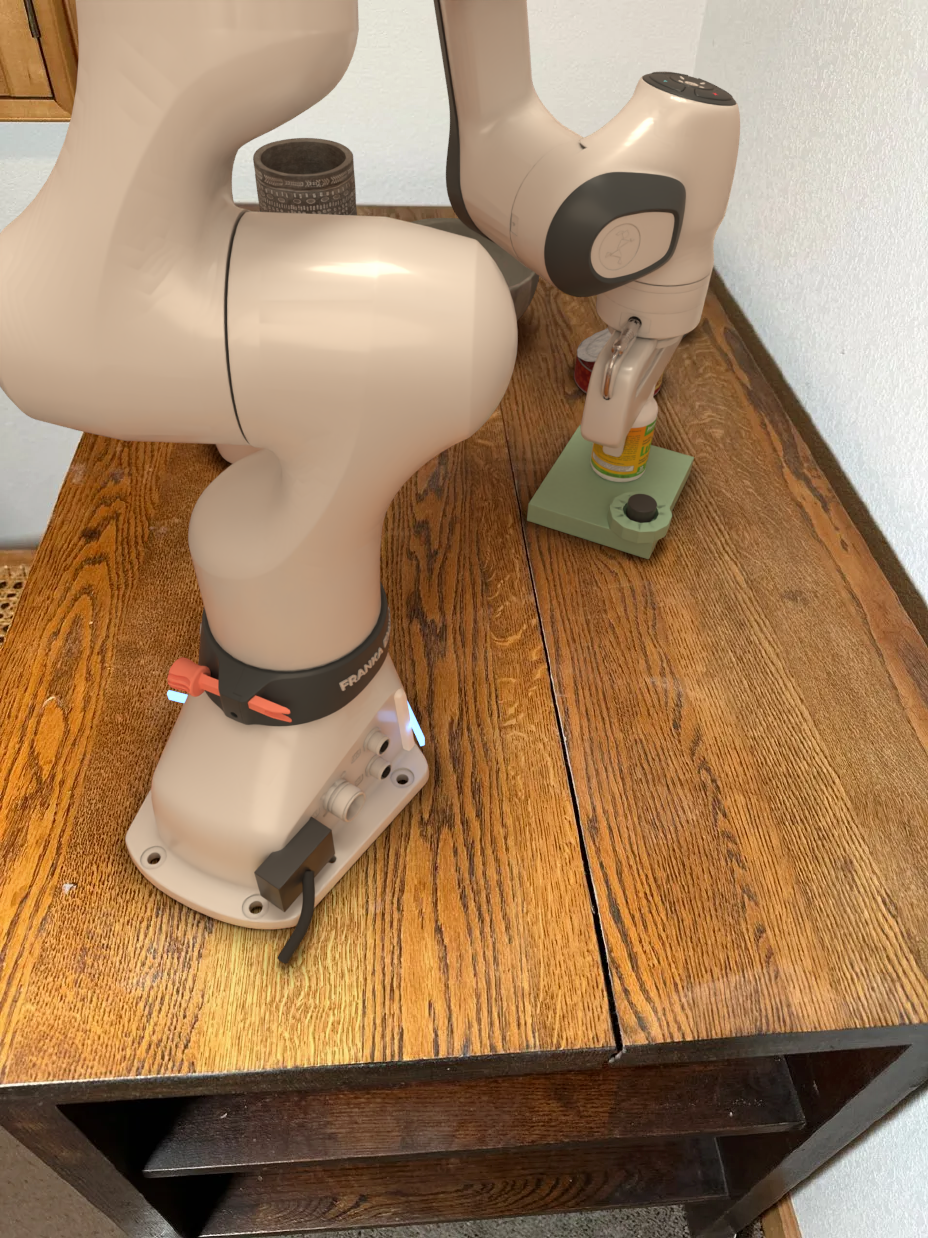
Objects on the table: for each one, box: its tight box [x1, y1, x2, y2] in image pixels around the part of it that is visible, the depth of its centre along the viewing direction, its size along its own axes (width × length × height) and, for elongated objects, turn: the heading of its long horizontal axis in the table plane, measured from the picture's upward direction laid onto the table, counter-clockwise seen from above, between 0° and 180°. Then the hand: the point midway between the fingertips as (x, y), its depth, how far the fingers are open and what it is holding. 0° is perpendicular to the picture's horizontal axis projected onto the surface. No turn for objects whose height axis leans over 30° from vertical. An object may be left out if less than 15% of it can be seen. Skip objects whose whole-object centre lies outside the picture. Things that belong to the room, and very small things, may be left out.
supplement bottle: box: [591, 384, 659, 482], centre depth 87 cm, size 5×5×10 cm
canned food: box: [573, 327, 665, 397], centre depth 102 cm, size 11×10×10 cm
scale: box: [526, 424, 695, 560], centre depth 89 cm, size 15×13×4 cm
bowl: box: [410, 217, 540, 322], centre depth 107 cm, size 20×20×10 cm
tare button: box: [626, 494, 657, 523], centre depth 83 cm, size 3×3×1 cm
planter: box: [252, 137, 358, 216], centre depth 118 cm, size 12×12×13 cm
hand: (625, 431), depth 87 cm, fingers closed on supplement bottle, 5 cm apart
